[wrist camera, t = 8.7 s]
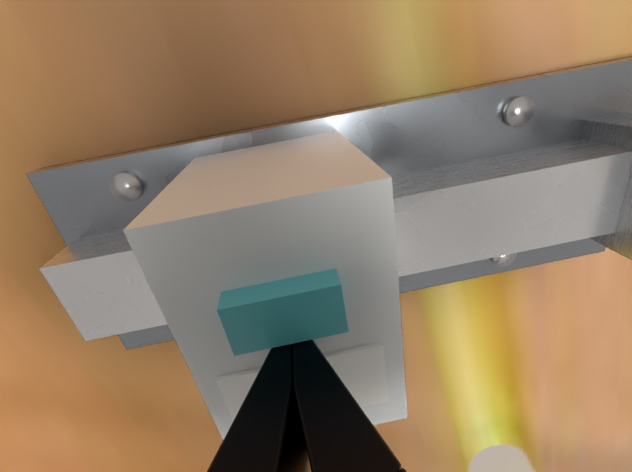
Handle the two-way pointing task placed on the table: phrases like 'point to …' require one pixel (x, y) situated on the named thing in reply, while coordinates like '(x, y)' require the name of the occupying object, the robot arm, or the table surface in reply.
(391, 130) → the rail panel
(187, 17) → the table surface
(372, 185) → the module
